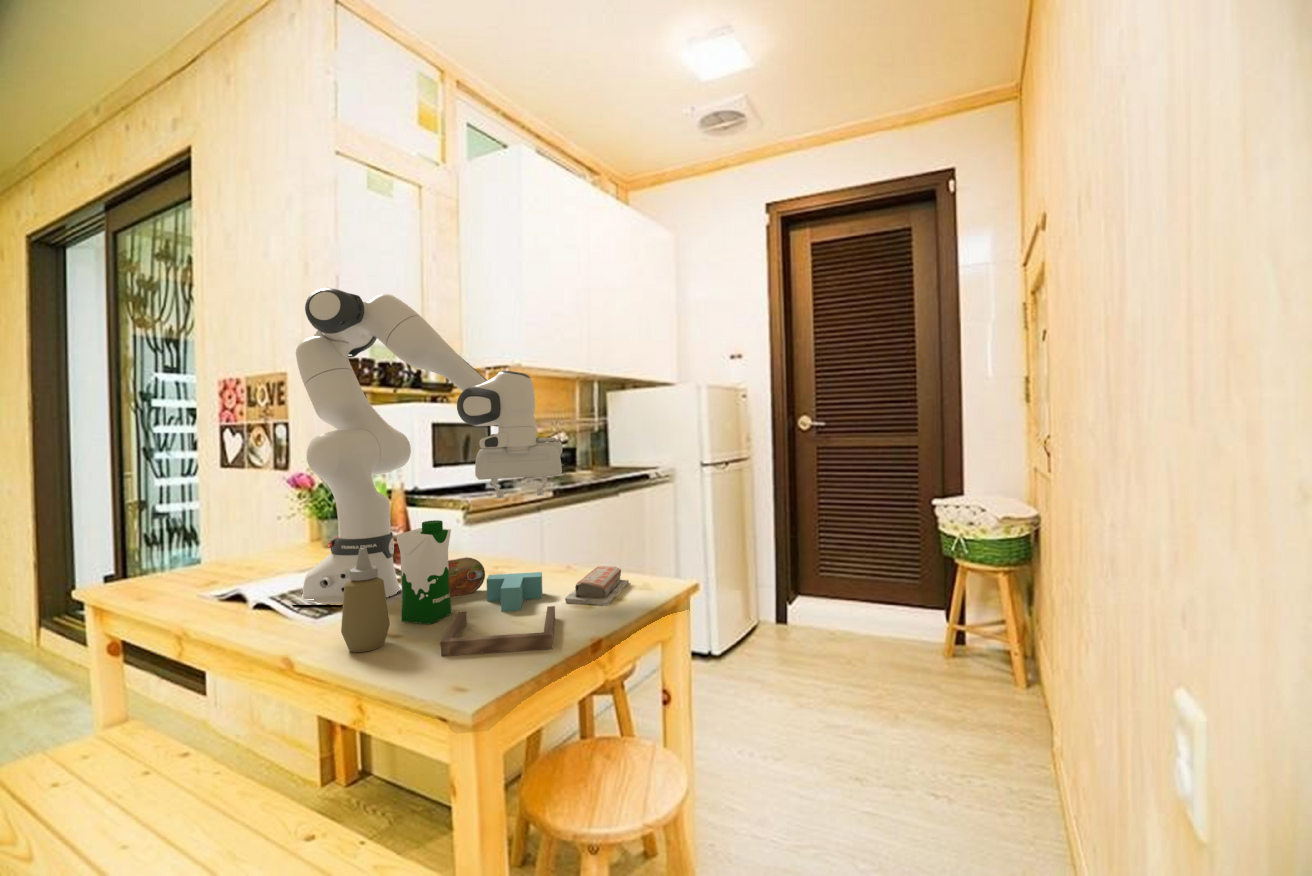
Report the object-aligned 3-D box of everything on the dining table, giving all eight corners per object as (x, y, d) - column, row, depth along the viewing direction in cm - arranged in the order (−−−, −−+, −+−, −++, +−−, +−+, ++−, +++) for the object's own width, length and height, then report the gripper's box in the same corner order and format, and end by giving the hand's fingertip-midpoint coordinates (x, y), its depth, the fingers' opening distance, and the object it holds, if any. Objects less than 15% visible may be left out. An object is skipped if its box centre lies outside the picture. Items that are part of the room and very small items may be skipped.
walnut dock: (441, 656, 106) (440, 642, 106) (458, 624, 123) (458, 611, 123) (552, 648, 109) (551, 634, 109) (555, 618, 125) (554, 606, 125)
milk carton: (431, 626, 122) (428, 526, 121) (393, 622, 124) (389, 524, 123) (458, 612, 130) (455, 518, 129) (421, 609, 133) (418, 517, 132)
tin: (418, 602, 138) (417, 565, 138) (416, 598, 141) (415, 562, 141) (486, 591, 146) (484, 556, 145) (482, 588, 148) (481, 553, 148)
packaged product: (589, 563, 152) (628, 565, 150) (590, 583, 152) (628, 585, 150) (563, 583, 135) (607, 585, 133) (564, 605, 135) (607, 607, 133)
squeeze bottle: (372, 656, 107) (368, 554, 106) (331, 654, 108) (327, 553, 107) (399, 639, 115) (396, 544, 114) (361, 637, 116) (357, 543, 115)
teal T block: (481, 612, 130) (481, 589, 129) (489, 596, 141) (488, 574, 141) (539, 609, 131) (538, 586, 131) (542, 593, 143) (541, 572, 143)
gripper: (561, 436, 151) (563, 492, 152) (475, 440, 148) (478, 497, 148) (562, 437, 145) (564, 495, 146) (472, 441, 142) (475, 500, 142)
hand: (520, 496), depth 147 cm, fingers open, 8 cm apart
